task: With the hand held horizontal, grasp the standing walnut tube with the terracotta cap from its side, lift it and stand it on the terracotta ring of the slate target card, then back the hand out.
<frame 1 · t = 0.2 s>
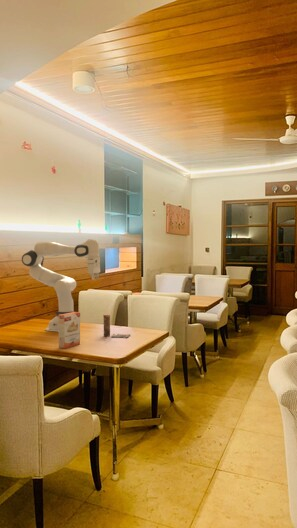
hand: (95, 279, 290), 38 cm above the table, tool pointing down, fingers open, 8 cm apart
cracker box: (69, 346, 249), on the table
walnut tube: (106, 335, 275), on the table
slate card: (120, 336, 274), on the table
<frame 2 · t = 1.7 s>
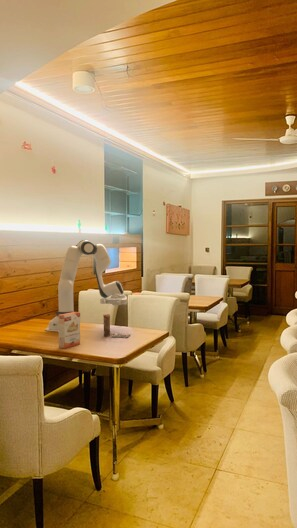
hand: (111, 302, 286), 22 cm above the table, tool horizontal, fingers open, 8 cm apart
nothing on the table moved.
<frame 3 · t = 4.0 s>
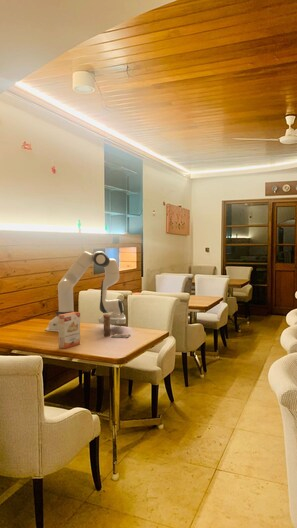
hand: (109, 322, 283), 8 cm above the table, tool horizontal, fingers open, 8 cm apart
nothing on the table moved.
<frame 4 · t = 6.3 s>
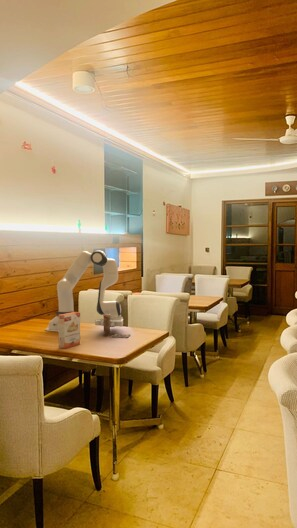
hand: (106, 324, 274), 8 cm above the table, tool horizontal, fingers closed on walnut tube, 4 cm apart
walnut tube: (106, 335, 275), on the table, touching gripper
everything else where it was.
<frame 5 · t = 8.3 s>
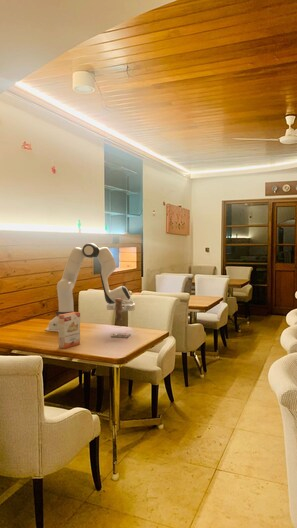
hand: (118, 308, 272), 20 cm above the table, tool horizontal, fingers closed on walnut tube, 4 cm apart
walnut tube: (119, 319, 274), point 11 cm above the table, touching gripper
everything else where it was.
when the fingers open (10 cm above the table, at t = 10.7 s): walnut tube drops 1 cm, resting on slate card.
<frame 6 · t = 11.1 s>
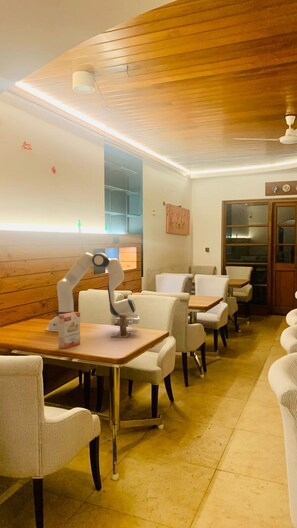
hand: (123, 322, 272), 10 cm above the table, tool horizontal, fingers open, 8 cm apart
walnut tube: (123, 335, 273), point 1 cm above the table, touching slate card
everything else where it was.
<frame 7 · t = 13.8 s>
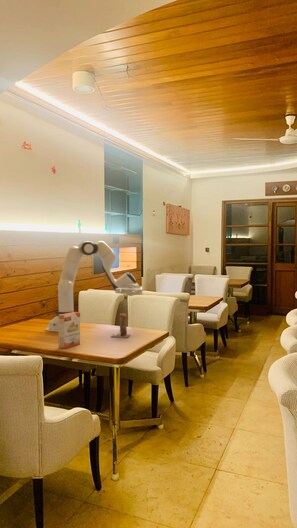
hand: (126, 292, 284), 30 cm above the table, tool horizontal, fingers open, 8 cm apart
nothing on the table moved.
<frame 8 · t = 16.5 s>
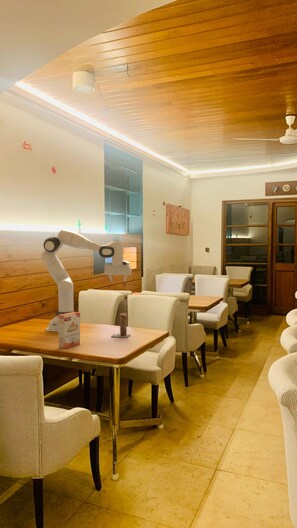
hand: (117, 281, 289), 37 cm above the table, tool pointing down, fingers open, 8 cm apart
nothing on the table moved.
at the end: walnut tube 0.0 cm from the target spot, point 0.7 cm above the table; walnut tube tilted 1°; the gripper is holding nothing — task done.
